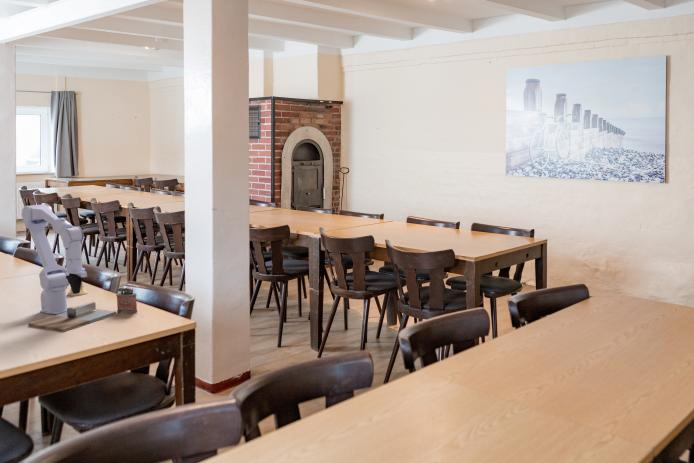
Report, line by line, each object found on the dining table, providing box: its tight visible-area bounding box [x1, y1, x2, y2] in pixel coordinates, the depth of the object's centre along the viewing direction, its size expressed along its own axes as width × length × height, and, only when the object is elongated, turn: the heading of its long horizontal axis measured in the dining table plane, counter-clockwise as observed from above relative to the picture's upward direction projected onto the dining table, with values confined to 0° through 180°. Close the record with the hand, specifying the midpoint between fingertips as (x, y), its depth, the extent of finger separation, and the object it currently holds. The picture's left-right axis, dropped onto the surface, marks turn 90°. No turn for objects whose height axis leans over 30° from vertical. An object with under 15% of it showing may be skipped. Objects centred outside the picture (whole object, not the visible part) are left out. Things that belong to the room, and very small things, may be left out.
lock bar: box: [66, 301, 97, 318], centre depth 266 cm, size 13×3×3 cm, turn 154°
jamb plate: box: [27, 315, 90, 333], centre depth 256 cm, size 18×12×1 cm, turn 65°
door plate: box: [54, 308, 117, 324], centre depth 268 cm, size 18×14×1 cm
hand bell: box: [67, 283, 88, 297], centre depth 305 cm, size 8×8×16 cm
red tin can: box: [115, 286, 138, 314], centre depth 273 cm, size 8×3×10 cm, turn 84°
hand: (76, 293), depth 266 cm, fingers closed
